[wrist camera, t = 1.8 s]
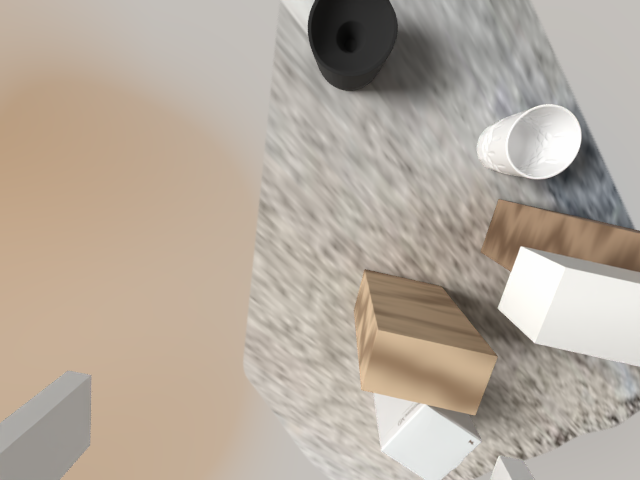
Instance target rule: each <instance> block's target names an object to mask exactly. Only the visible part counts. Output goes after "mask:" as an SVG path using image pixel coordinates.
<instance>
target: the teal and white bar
mask: <svg viewBox="0 0 640 480" xmlns="http://www.w3.org/2000/svg"><path fill="white" fill-rule="evenodd" d="M498 309H499V310H500V311H501V312H502V313H503V314H504V315H505V316H506V317H507V318H508V319H509V320H511V321H512V322H513V323H514V324H515V325H516V326H517V327H518V328H519V329H520V330H521V331H522V332H523V333H524V334H525V335H526V336H528V337H529V338H530V339H531V340H532V341H533V342H534V343H536V344H540V345H545V346H549V347H554V348H558V349H563V350H567V351H572V352H576V353H581V354H585V355H590V356H594V357H599V358H603V359H608V360H612V361H617V362H621V363H626V364H630V365H635V366H639V367H640V272H636V271H631V270H627V269H622V268H618V267H613V266H609V265H604V264H600V263H595V262H591V261H586V260H581V259H577V258H572V257H568V256H563V255H559V254H554V253H550V252H545V251H541V250H536V249H532V248H527V247H522V246H521V247H520V249H519V252H518V255H517V258H516V260H515V263H514V266H513V268H512V271H511V274H510V277H509V279H508V282H507V285H506V287H505V290H504V293H503V296H502V298H501V301H500V304H499V306H498Z"/></svg>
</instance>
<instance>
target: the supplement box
mask: <svg viewBox="0 0 640 480" xmlns="http://www.w3.org/2000/svg"><path fill="white" fill-rule="evenodd" d="M373 394H374V402H375V409H376V416H377V424H378V431H379V439H380V446H381V451H382V452H383V453H385V454H386V455H388V456H389V457H391V458H392V459H394V460H396V461H397V462H399V463H400V464H402V465H403V466H405V467H406V468H408V469H410V470H411V471H413V472H414V473H416V474H417V475H418V476H420V477H421V478H423V479H424V480H442V479H443V478H444V477H445V476H446V475H447V474H448V473H449V472H450V471H452V470H453V469H454V468H456V467H457V466H458V465H459V464H460V463H461V462H462V461H463V459H464V458H465V457H466V456H467V455H468V454H469V453H470V452H472V451H473V450H474V449H475V448H476V447H477V446H478V445H479V444H480V443H481V442H482V439H481V437H480V435H479V433H478V431H477V429H476V427H475V425H474V423H473V421H472V419H471V417H470V415H469V414H466V413H462V412H457V411H453V410H448V409H444V408H439V407H435V406H430V405H426V404H421V403H417V402H413V401H408V400H404V399H399V398H395V397H390V396H386V395H381V394H377V393H373Z"/></svg>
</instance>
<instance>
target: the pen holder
mask: <svg viewBox="0 0 640 480" xmlns="http://www.w3.org/2000/svg"><path fill="white" fill-rule="evenodd" d="M397 29H398V24H397V18H396V14H395V12H394V9H393V7H392V5H391V3H390V1H389V0H315V2H314V4H313V6H312V8H311V11H310V15H309V20H308V36H309V42H310V46H311V49H312V52H313V54H314V57H315V59H316V62H317V64H318V67H319V69H320V71H321V73H322V75H323V76H324V78H325V79H326V80H327V81H328V82H329V83H330V84H331V85H333V86H334V87H336V88H339V89H342V90H356V89H359V88H362V87H364V86H365V85H367V84H368V83H370V82H371V81H372V80H373V79H374V77H375V76H376V75H377V73H378V72H379V71H380V69H381V67H382V66H383V64H384V62H385V61H386V59H387V57H388V55H389V54H390V52H391V50H392V48H393V46H394V44H395V40H396V37H397Z"/></svg>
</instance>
